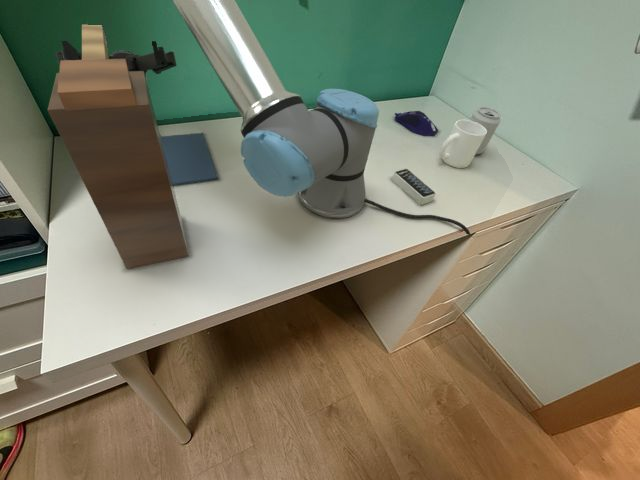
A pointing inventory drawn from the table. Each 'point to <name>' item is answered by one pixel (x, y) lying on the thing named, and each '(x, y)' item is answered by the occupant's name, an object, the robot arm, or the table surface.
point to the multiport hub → (413, 186)
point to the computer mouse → (417, 122)
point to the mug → (462, 143)
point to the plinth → (125, 174)
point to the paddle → (95, 76)
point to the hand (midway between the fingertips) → (112, 49)
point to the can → (486, 124)
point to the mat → (188, 158)
